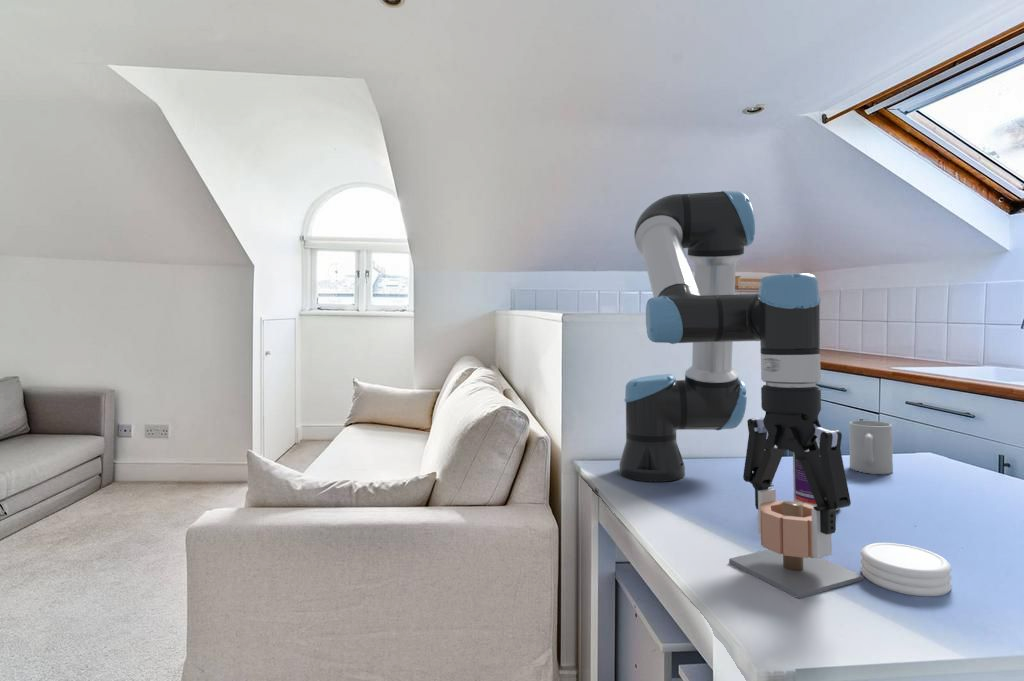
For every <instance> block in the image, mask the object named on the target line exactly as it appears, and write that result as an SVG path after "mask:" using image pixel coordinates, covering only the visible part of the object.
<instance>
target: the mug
mask: <svg viewBox="0 0 1024 681" xmlns="http://www.w3.org/2000/svg"><path fill="white" fill-rule="evenodd" d="M848 426H849V427H848V429H849V430H848V431H849V432H848V433H849V469H851V470H852V469H853V470H852V471H854V470H855V471H854V472H857V471H859V472H858V473H861V472H863V473H862V474H866V473H870V474H869V475H877V474H884V475H889V474H893V472H894V467H893V466H894V463H893V425H892V424H891V423H889V422H884V421H878V420H877V421H876V420H852V421H849V423H848Z"/></svg>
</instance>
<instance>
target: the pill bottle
mask: <svg viewBox="0 0 1024 681" xmlns="http://www.w3.org/2000/svg"><path fill="white" fill-rule="evenodd" d="M817 440H818V437H817V439H816V442H817ZM817 445H818V447H819V444H818V443H817ZM808 451H809V449H808V450H806V451H805V452H808ZM820 459H821V458H820ZM792 466H793V468H792V471H793V472H792V473H793V501H794V502H800V503H802V504H804V503H806V504H809V505H812V506H815V507H816V506H817V504H816V502H815V499H814V497H813V494H812V491H811V489H810V486H809V483H808V481H807V478H806V476H805V473H804V470H803V468H802V465H801V462H800V460H798V459H797V458H796V457H795V454H794V452H792ZM825 500H826V499H825ZM840 509H841V508H838V509H836V511H838V510H840Z"/></svg>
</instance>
